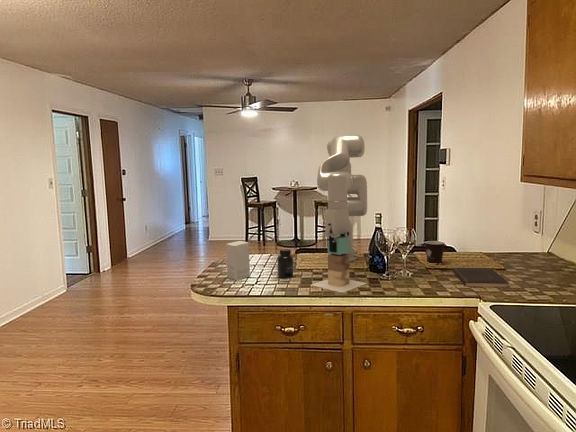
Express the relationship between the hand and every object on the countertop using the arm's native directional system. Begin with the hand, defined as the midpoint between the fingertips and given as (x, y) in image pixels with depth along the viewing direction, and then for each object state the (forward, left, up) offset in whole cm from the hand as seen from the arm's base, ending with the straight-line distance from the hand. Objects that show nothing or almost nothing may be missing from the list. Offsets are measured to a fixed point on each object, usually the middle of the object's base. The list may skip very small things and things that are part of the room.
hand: (338, 250), depth 173 cm
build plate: (0, 0, -15) cm, 15 cm away
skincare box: (+17, -42, -15) cm, 48 cm away
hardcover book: (-45, +37, -16) cm, 61 cm away
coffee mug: (-60, +10, -15) cm, 63 cm away
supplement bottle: (+3, -27, -15) cm, 31 cm away
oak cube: (0, 0, -14) cm, 14 cm away
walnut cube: (0, 0, -8) cm, 8 cm away
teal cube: (0, 0, -1) cm, 1 cm away
